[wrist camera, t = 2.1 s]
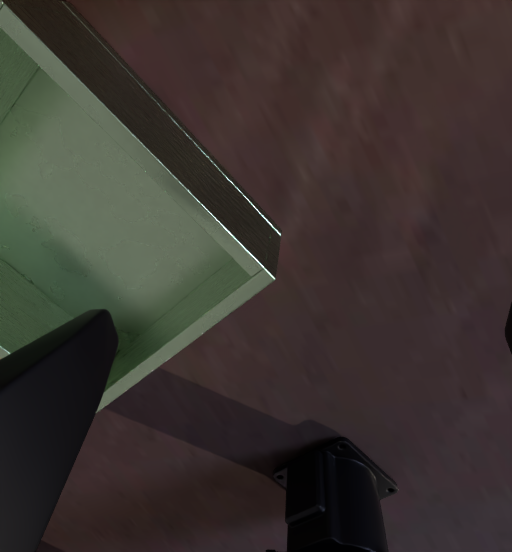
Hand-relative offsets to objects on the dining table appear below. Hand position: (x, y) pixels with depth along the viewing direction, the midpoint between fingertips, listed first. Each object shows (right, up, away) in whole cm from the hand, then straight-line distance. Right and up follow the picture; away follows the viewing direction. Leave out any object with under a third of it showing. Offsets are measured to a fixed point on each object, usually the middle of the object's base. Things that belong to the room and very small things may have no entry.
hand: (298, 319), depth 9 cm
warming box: (-9, +4, +12) cm, 16 cm away
